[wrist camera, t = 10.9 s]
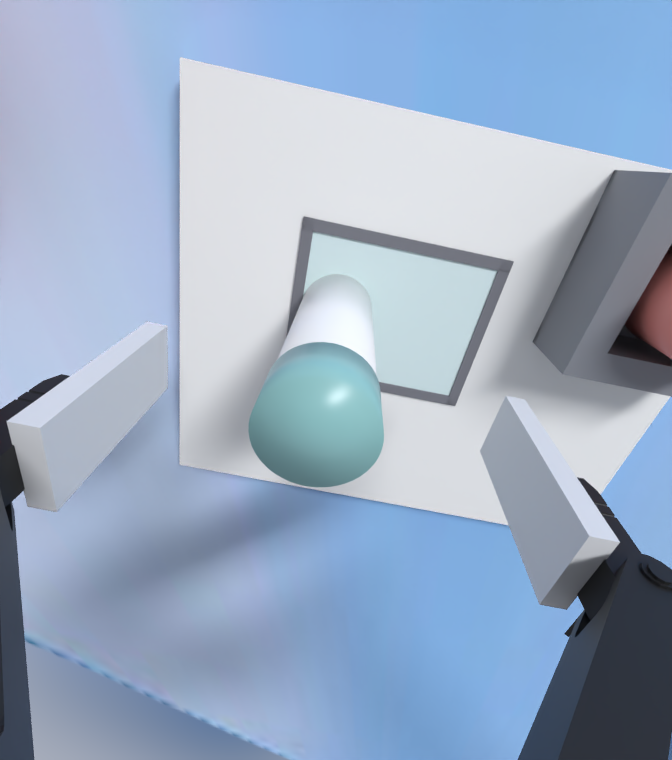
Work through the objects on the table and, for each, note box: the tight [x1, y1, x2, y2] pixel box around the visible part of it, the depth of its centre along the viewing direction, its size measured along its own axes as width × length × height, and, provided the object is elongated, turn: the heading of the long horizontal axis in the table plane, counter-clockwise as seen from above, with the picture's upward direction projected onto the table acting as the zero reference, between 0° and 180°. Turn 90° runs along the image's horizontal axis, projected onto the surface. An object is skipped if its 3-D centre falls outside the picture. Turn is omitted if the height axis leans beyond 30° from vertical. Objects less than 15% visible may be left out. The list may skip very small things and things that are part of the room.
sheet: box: [180, 57, 672, 525], centre depth 25 cm, size 24×30×1 cm
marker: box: [248, 274, 384, 487], centre depth 18 cm, size 4×4×12 cm
